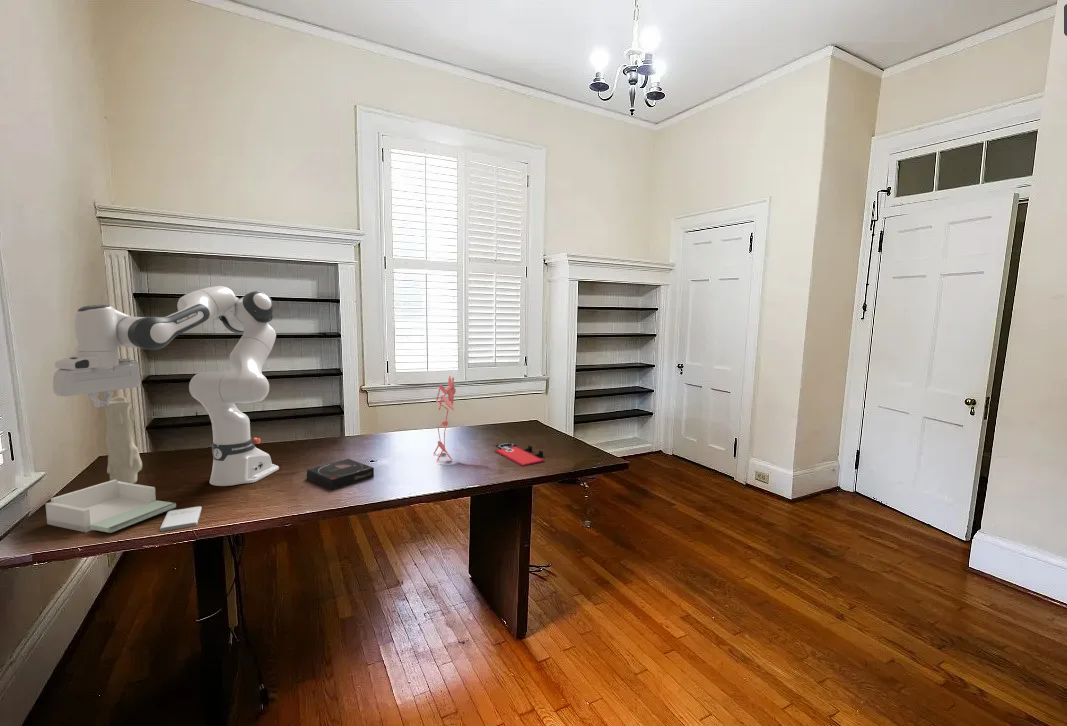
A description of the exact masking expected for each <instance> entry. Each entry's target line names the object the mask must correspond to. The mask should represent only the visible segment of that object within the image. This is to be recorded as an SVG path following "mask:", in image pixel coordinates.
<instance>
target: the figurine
mask: <svg viewBox="0 0 1067 726" xmlns="http://www.w3.org/2000/svg"><path fill="white" fill-rule="evenodd" d="M454 384H455V378H454V376H453V377H451V375H449V376H448V381H447V385H448V386H447V387H446V388H445V387H444V386H443V385H442V384H441V383H440V384H439V389H438V392H437V396H436V399H435V403H436V404H438V410H439V411H440V410H441V406H442V407H443V408H444V409H446V416H445V420H444V419H443V420H442V421H441V424H440V425H438V426H437V433H438V439H439V440H438V441H437V446H436V448H435V449H434V450H435V451H433V455H435V454H436V452H437V450H438V448H440V449H441V452H440V453H439V455H438V457H437V459H436V461H439V460H440V458H441V456H442V454H443V452H444V453H445V454H446V455H447V457H448V458H449V459H450V460H451V461H453V458H452V457H451V455H450V454H449V452H448V451H447V450H446V439H445V438H446V430H447V426H448V425H449V421H448V415H449V408H450V409H451V410H453V411H455V407H454V400H455V399H454V397H455V396H454V395H455V394H456V391H457V390H456V386H454ZM440 391H441V393H443V395H441V396H440ZM446 395H447V397H446ZM439 396H440V401H438V400H439ZM443 402H444V403H445V404H446V405H447V407H446V406H445V405H443V404H442V403H443ZM448 407H449V408H448ZM440 427H444V431H443V442H442V441H441V436H440V435H441V434H440ZM452 450H454V451H456V449H454V448H453V449H452ZM457 451H458V452H461V453H464V454H466V455H469V454H468V453H467V452H465V451H463V450H459V449H457ZM466 458H467V459H468V457H466ZM437 465H438V466H439V465H440V466H441V465H442V464H441V463H440V464H437Z"/></svg>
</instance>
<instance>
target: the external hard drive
mask: <svg viewBox="0 0 1067 726" xmlns="http://www.w3.org/2000/svg"><path fill="white" fill-rule="evenodd" d="M201 512H202V506H192V507H186V508H181V509H171V510H168V511H167V512H166V515H165V516H164V519H163V521H162V523H161V526H160V527H159V532H160V531H161V532H166V531H171V530H177V529H178V530H179V529H184V528H190V527H196V526H197V525H198V522H199V519H200V516H201Z"/></svg>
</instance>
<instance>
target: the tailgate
mask: <svg viewBox="0 0 1067 726" xmlns="http://www.w3.org/2000/svg"><path fill="white" fill-rule="evenodd" d="M175 508H177V503H176V502H171V501H162V500H158V499H156V501H154V502H151V503H149V504H146V505H143V506H140V507H137V508H135V509H132V510H129V511H126V512H124V513H121V514H118V515H115V516H113V517H110V518H107V519H104V520H102V521H99V522H96V523H93V524H91V525H90V529H92V530H91V531H99V532H105V533H110V534H112V533H115V532H116V531H119V530H121V529H124V528H127V527H129V526H131V525H135V524H137V523H141V522H143V521H145V520H147V519H150V518H152V517H155V516H157V515H160V514H163V513H164V512H168V511H171V510H174V509H175Z"/></svg>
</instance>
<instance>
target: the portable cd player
mask: <svg viewBox="0 0 1067 726" xmlns="http://www.w3.org/2000/svg"><path fill="white" fill-rule="evenodd" d="M374 469H375V468H374V467H373V466H370V465H366V464H364V463H362V462H358V461H355V460H354V459H350V458H346V459H341V460H338V461H335V462H332V463H331V462H330V463H327V464H324V465H319V466H315V467H312V468H311V467H310V468H309V469H308V468H307V470H306V479H307V480H310V482H314V483H315V484H319V485H321V486H323V487H325V488H327V489H329V490H332V491H333V490H337V489H339V488H343V487H345V486H349V485H353V484H356V483H359V482H362V481H365V480H369V479H371V478H374V477H375V472H374V471H375V470H374Z"/></svg>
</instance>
